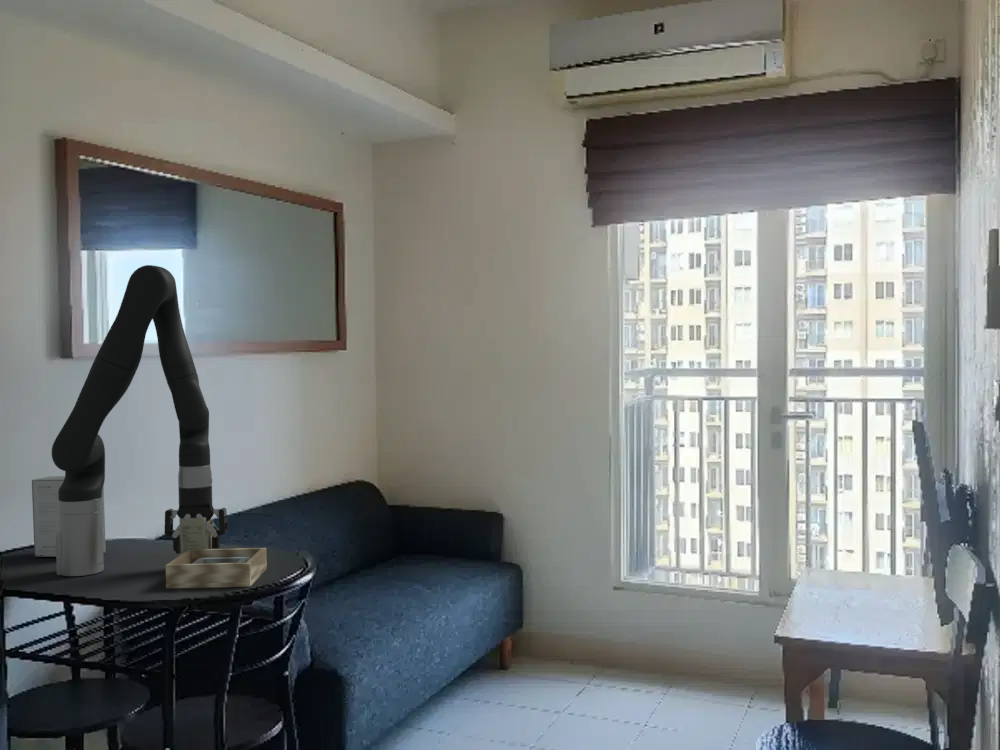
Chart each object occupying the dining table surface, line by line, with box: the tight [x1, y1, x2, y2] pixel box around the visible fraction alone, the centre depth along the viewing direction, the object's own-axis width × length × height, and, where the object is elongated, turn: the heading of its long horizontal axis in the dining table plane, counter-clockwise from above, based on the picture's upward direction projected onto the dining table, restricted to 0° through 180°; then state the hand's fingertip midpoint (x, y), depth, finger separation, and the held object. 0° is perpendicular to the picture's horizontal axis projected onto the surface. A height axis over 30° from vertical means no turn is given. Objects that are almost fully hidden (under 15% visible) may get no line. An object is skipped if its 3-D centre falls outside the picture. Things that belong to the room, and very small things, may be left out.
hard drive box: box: [31, 475, 107, 556], centre depth 232 cm, size 16×8×20 cm, turn 81°
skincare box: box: [179, 517, 213, 555], centre depth 216 cm, size 6×4×12 cm
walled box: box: [165, 547, 268, 589], centre depth 206 cm, size 18×16×5 cm
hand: (196, 552), depth 216 cm, fingers open, 8 cm apart
